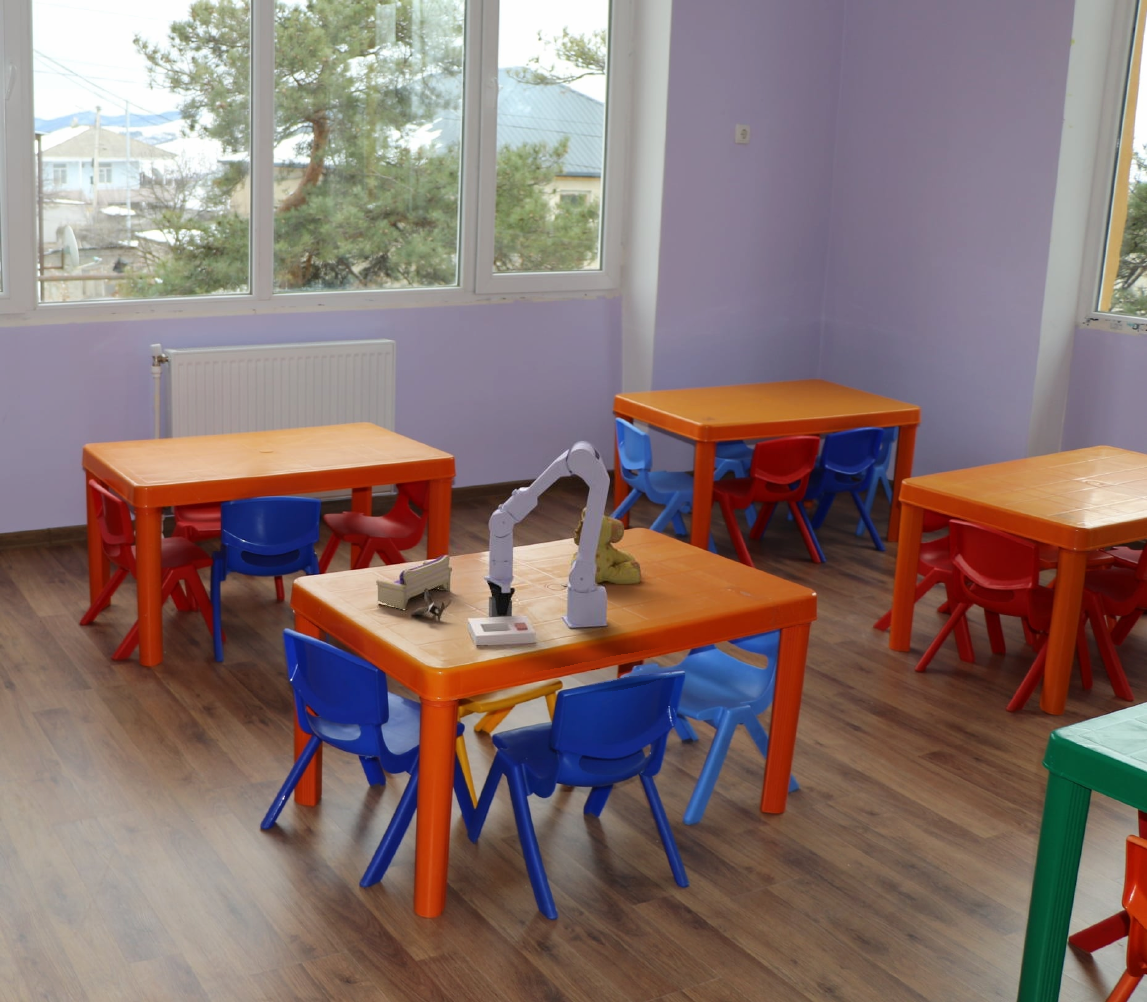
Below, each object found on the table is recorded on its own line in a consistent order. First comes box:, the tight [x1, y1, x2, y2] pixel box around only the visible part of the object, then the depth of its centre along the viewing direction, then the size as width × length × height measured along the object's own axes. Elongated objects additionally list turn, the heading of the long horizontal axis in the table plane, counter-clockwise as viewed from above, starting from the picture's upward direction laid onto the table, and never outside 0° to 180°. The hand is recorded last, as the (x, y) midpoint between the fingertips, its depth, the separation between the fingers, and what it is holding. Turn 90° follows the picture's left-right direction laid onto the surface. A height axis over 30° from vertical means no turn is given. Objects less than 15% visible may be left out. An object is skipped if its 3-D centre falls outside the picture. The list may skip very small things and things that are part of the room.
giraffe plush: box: [560, 506, 642, 587], centre depth 343 cm, size 20×24×19 cm
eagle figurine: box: [410, 588, 452, 622], centre depth 311 cm, size 8×7×9 cm
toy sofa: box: [375, 554, 453, 609], centre depth 325 cm, size 21×9×10 cm, turn 150°
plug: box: [488, 596, 513, 617], centre depth 312 cm, size 5×4×5 cm
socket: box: [467, 615, 537, 647], centre depth 300 cm, size 14×12×3 cm
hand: (500, 611), depth 312 cm, fingers closed on plug, 4 cm apart
